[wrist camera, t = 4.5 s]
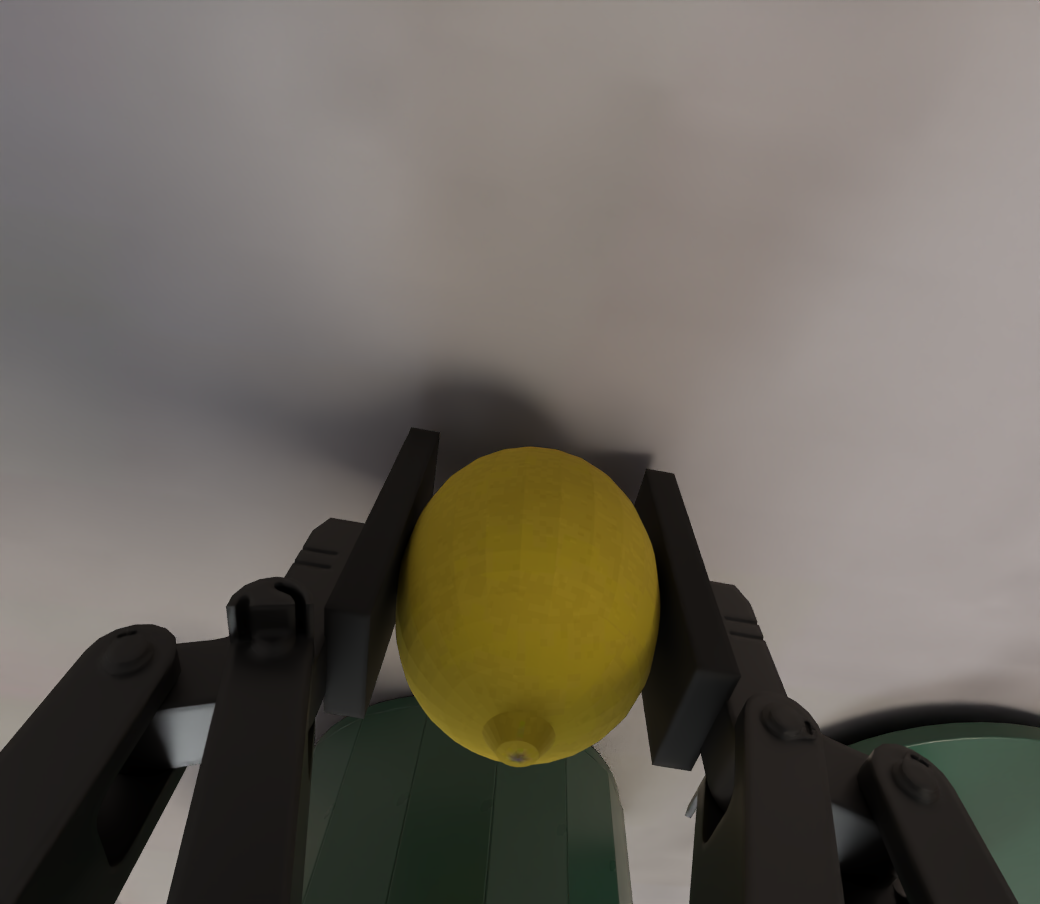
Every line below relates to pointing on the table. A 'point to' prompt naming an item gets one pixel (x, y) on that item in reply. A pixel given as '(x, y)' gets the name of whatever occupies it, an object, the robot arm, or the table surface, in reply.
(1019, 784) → the lid
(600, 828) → the pot
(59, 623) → the table surface
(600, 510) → the lemon
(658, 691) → the robot arm
